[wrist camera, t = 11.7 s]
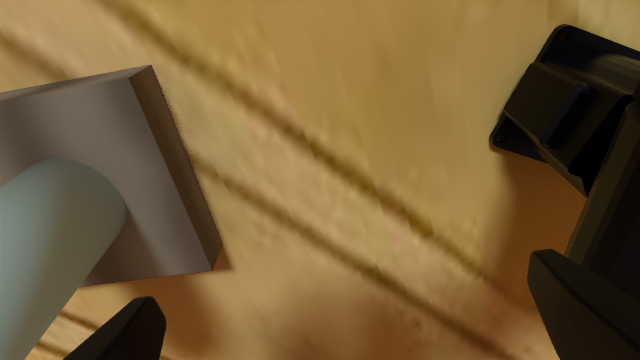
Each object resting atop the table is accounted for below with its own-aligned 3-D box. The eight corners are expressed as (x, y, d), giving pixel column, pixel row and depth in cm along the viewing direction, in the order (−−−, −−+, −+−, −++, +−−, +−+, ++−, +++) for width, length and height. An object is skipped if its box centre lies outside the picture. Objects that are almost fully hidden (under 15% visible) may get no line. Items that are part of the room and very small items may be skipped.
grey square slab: (150, 64, 19) (128, 78, 17) (222, 243, 25) (212, 270, 23) (-55, 103, 21) (-99, 120, 18) (59, 264, 27) (36, 291, 24)
